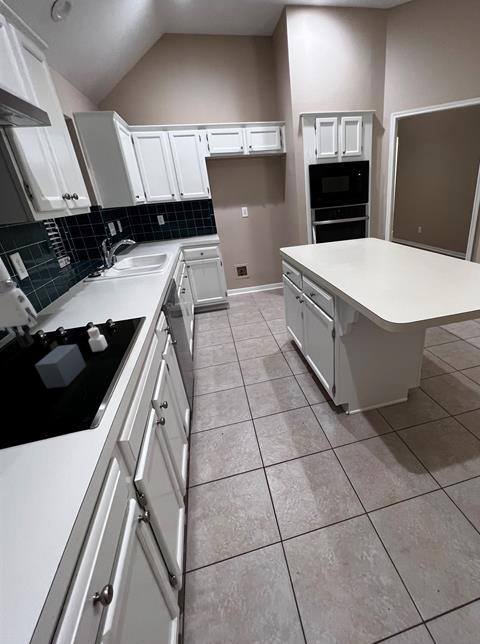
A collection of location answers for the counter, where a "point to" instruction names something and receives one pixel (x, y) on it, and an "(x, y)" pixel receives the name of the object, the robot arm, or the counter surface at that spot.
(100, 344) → the pepper shaker
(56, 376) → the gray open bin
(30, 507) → the counter surface
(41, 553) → the counter surface
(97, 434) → the counter surface
